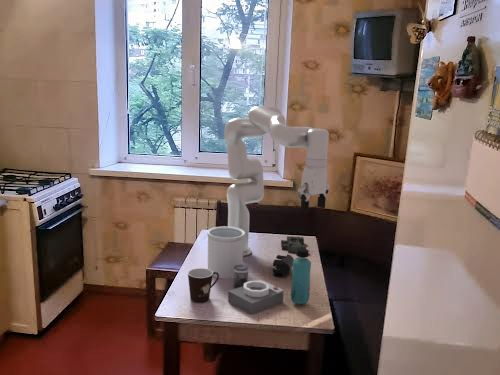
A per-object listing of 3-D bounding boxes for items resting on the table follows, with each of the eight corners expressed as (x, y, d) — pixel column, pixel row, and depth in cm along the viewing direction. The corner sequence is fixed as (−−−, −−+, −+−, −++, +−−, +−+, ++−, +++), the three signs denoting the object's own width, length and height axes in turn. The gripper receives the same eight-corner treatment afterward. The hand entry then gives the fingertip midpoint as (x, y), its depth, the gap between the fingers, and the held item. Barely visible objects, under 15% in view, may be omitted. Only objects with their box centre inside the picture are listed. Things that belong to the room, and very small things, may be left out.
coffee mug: (189, 306, 152) (189, 278, 150) (185, 295, 160) (186, 269, 158) (223, 303, 155) (224, 276, 153) (217, 293, 163) (218, 266, 161)
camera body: (228, 301, 157) (228, 285, 156) (259, 290, 167) (259, 275, 166) (251, 314, 148) (252, 297, 147) (282, 302, 158) (283, 286, 157)
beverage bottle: (312, 304, 158) (316, 249, 154) (301, 310, 153) (305, 254, 149) (297, 298, 162) (300, 245, 158) (286, 303, 157) (289, 249, 153)
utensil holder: (243, 281, 175) (245, 237, 172) (205, 280, 174) (206, 236, 171) (242, 266, 189) (244, 226, 186) (207, 266, 189) (208, 225, 185)
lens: (230, 286, 169) (231, 266, 168) (241, 283, 173) (241, 263, 171) (239, 291, 165) (240, 270, 164) (250, 287, 169) (251, 267, 167)
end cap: (289, 279, 179) (290, 263, 177) (272, 276, 181) (272, 260, 179) (293, 270, 188) (294, 254, 187) (277, 268, 190) (278, 252, 189)
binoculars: (281, 254, 208) (282, 241, 207) (280, 243, 224) (281, 231, 222) (305, 255, 208) (306, 242, 206) (302, 244, 223) (303, 232, 222)
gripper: (322, 160, 171) (319, 204, 174) (292, 163, 159) (289, 210, 163) (338, 163, 166) (335, 208, 169) (309, 166, 154) (305, 215, 157)
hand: (312, 209), depth 166 cm, fingers open, 9 cm apart
